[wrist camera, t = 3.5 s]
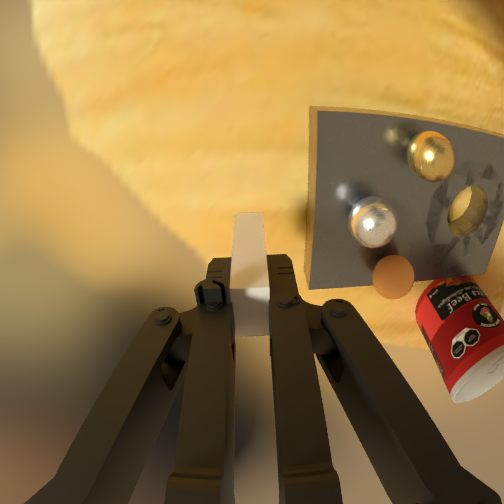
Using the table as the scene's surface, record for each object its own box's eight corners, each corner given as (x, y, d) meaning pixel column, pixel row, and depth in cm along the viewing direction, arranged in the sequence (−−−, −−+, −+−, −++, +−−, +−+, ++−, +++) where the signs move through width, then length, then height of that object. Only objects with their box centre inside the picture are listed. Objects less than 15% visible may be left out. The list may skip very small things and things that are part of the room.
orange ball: (370, 247, 20) (386, 274, 18) (408, 245, 20) (426, 270, 18) (363, 282, 22) (376, 310, 20) (399, 279, 22) (414, 305, 20)
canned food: (479, 264, 25) (534, 338, 16) (456, 318, 29) (495, 390, 20) (424, 272, 25) (478, 361, 16) (405, 329, 29) (439, 412, 20)
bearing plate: (309, 106, 18) (317, 110, 15) (502, 134, 17) (520, 143, 15) (304, 270, 25) (308, 289, 23) (471, 259, 24) (484, 273, 22)
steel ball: (344, 188, 18) (360, 210, 15) (389, 189, 18) (410, 210, 15) (340, 232, 20) (353, 259, 17) (382, 231, 20) (400, 256, 17)
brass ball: (400, 123, 16) (426, 134, 13) (440, 129, 15) (468, 141, 13) (395, 170, 17) (418, 189, 15) (434, 173, 17) (459, 191, 15)
